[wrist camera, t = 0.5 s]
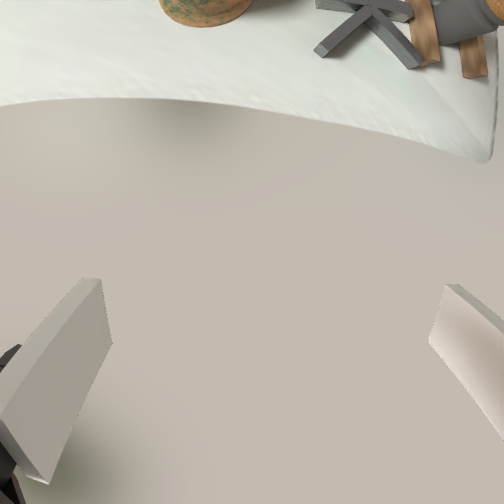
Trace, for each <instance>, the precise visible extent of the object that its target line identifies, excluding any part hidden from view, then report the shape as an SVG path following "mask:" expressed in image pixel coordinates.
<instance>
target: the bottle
mask: <svg viewBox="0 0 504 504" xmlns="http://www.w3.org/2000/svg"><path fill="white" fill-rule="evenodd" d="M432 11H433V16H434V21H435V27H436V33H437V39H438V44H439V45H443V46H446V45H450V44H453V43H457V42H460V41H463V40H466V39H469V38H473V37H476V36H479V35H483V34H486V33H490V32H493V31H495V30H497V28H498V26H499V25H500V26H503V25H504V0H445V1H443V2H441V3H439V4H437V5H435V6H433V7H432Z"/></svg>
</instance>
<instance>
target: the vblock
mask: <svg viewBox="0 0 504 504" xmlns="http://www.w3.org/2000/svg"><path fill="white" fill-rule="evenodd" d="M315 2H316V8H317V9H327V10H336V11H343V12H350V13H355V14H354V15H352V16H351V17H350V18H349V19H347V20H346V21H345V22H344V23H343V24H341V25H340V26H339V27H338V28H337V29H335V30H334V31H333V32H332V33H331V34H330V35H328V36H327V37H326V38H325V39H324V40H323V41H322V42H320V43H319V44H318V46H317V47H316V48H315V49H314V51H315V52H316V53H317V54H318V55H319V56H320V57H321V58H323V57H324V56H325V55H326V54H327V53H328V52H329V51H330V50H332V49H333V48H334V47H335V46H336V45H337V44H338V43H339V42H341V41H342V40H343V39H344V38H345V37H346V36H347V35H349V34H350V33H351V32H352V31H353V30H354V29H356V28H357V27H358V26H359V25H360V24H362V23H363V22H364V23H365V24H366V25H367V26H368V27H369V28H370V29H371V30H372V31H373V32H374V33H375V34H376V35H377V36H378V37H379V38H380V39H381V40H382V41H383V42H384V43H385V44H386V46H387V47H388V48H389V49H390V50H391V51H392V52H393V53H394V54H395V55H396V56H397V57H398V59H399V60H400V61H401V62H402V63H403V64H404V65H405V67H406V68H407V69H411V68H414V67H417V66H420V65H421V64H422V63H423V62H424V61H425V59H424V58H423V56H422V55H421V54H420V53H419V52H418V50H417V49H416V48H415V47H414V46H413V45H412V43H411V42H410V41H409V40H408V39H407V38H406V37H405V36H404V35H403V34H402V32H401V31H400V30H399V29H398V28H397V27H396V26H395V25H394V24H393V23H392V22H391V21H390V20H393V21H398V22H402V23H403V22H405V21H407V20H408V19H410V18H412V17H413V16H414V15H413V10H412V5H411V3H407V2H403V1H400V0H315Z"/></svg>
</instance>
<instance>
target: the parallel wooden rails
mask: <svg viewBox="0 0 504 504" xmlns="http://www.w3.org/2000/svg"><path fill="white" fill-rule="evenodd" d="M405 2H407V3H411V5H412V10H413V15H414V16H413V17H412V18H410V19H408V20H409V26H410V33H411V40H412V45H413V46H414V47H415V48H416V49H417V50H418V52H419V53H420V54H421V55H422V56H423V58H424V59H425V61H424V62H423V63H422V64H421V65H420V66H425V65H428V64H431V63H435V62H438V61H440V53H439V46H438V39H437V33H436V27H435V21H434V16H433V11H432V6H431V2H430V0H405ZM458 43H459V49H460V56H461V64H462V73H463V77H464V78H467V79H471V78H478V77H485V76H488V70H487V62H486V55H485V49H484V43H483V37H482V35H479V36H476V37H473V38H469V39H466V40H463V41H460V42H458Z"/></svg>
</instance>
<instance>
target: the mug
mask: <svg viewBox="0 0 504 504" xmlns="http://www.w3.org/2000/svg"><path fill="white" fill-rule="evenodd" d="M159 2H160V5H161V7H162V9H163V10H164V12H165V13H166V14H167V15H168V16H169V17H170V18H171V19H173V20H174V21H176V22H178V23H180V24H183V25H186V26H190V27H200V28H202V27H213V26H218V25H221V24H224V23H227V22H229V21H231V20H233V19H235V18H237V17H238V16H240V15H241V14H242V13H243V12H244V11H245V10H246V9H247V8H248V7H249V5H250V4H251V2H252V0H159Z"/></svg>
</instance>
